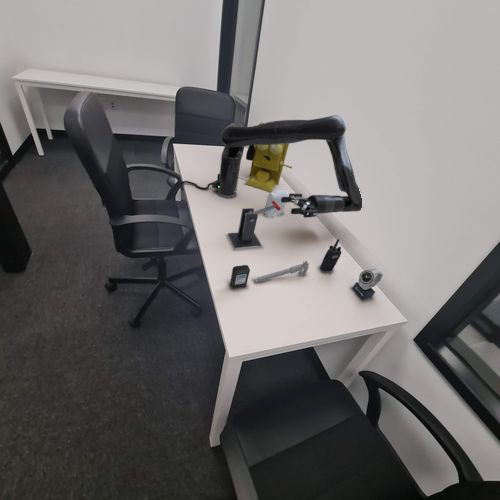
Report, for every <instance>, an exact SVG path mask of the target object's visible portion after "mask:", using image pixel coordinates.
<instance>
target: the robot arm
mask: <svg viewBox="0 0 500 500" xmlns="http://www.w3.org/2000/svg"><path fill="white" fill-rule="evenodd" d="M263 123H264V124H260V123H259V124H260V125H259V124H257V125H253V126H244V125H242V124H241V123H239V122H231V123H230V124H229V125H227V126H225V128H224V129H223V130H222V132H221V134H220V135H221V136H220V138H221V142H222V144H224V147H223V150H222V152H221V157H220V167H219V173H218V174H217V177H216V180H214V181H212V182H209V183H208V184H207V186H206V187H204V186H203V187H202V186H199V185H198V184H197V183H195V182H193V181H189V180H183V181H180V183H179V185H182V184H183V185H184V184H190V185H193V186H195V187H196V188H197V189H200V190H205V191H206V190H209V188H210V186H211V188H212V189H215V193H217V195H218V196H220V197H223V198H227V199H228V198H234V197H236V195H237V191H238V189H237V188H238V181H239V177H240V176H239V175H240V168H241V163H242V158H243V155H244V150H245V147H249V145H278V144H289V145H290V144H295V143H299V142H304V141H310V140H311V141H313V140H314V141H316V140H318V141H319V140H320V141H325V142H326V144H327V147H328V149H329V151H330V155H331V159H332V163H333V169H334V174H335V178H336V182H337V187H338V189H339V191H340V192H343V193H346V195H338V194H336V195H335V194H334V195H331V194H311V195H309V196H308V197H303V194H302V193H288V197H282V199H281V202H282V203H286V204H287V203H290V204H293V205H294V206H297V207H293V208H291V209H290V214H291V215H299V216H302V217H303V218H305V219H307V218H315V217H317V215H319V214H329V213H349V212H351V213H352V212H360V211H362V210H361V208H362V198H361V194H360V191H361V190H360V191H359V189H360V187H359V185H358V183H357V181H356V176H355V172H354V169H353V165H352V162H351V159H350V157H349V154H348V151H347V146H346V137H345V133H346V130H347V122H346V120H345V119H344V118H343V117H342V116H341V115H337V114H335V115H334V114H333V115H329V116H324V117H320V118H314V119H280V120H272V121H268V122H263Z"/></svg>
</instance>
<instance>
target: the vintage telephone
mask: <svg viewBox="0 0 500 500" xmlns="http://www.w3.org/2000/svg"><path fill="white" fill-rule="evenodd" d="M264 123H265V122H260V123H258V125H260V124H264ZM289 145H290V144H278V145H249V146H248V148H247V150H246V155H245V160H247V161H248V162H249V161H250V162H251V165H250V171H249V178H248V180H246V179H244V178H242V177H240V176H238V179H241V180H244V181H246V182H245V185H246V186H250V187H252V188H256V189H259V190H262V191H266V192H269V193H271V192H273V190H274V188H275V186H276V185H279V184H280V180H281V175H282V173H283V168H284V167H286V168H288V169H292V168H293V165H289V164H286V163H285V160H286V157H287V153H288V149H289Z"/></svg>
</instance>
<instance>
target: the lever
mask: <svg viewBox="0 0 500 500" xmlns="http://www.w3.org/2000/svg"><path fill="white" fill-rule="evenodd" d="M272 204H273V205H271V206H269V207H266V208H265V207H264V208H262V209H261V208H260V209H259V210H256V211H254V212H253V213H252V211H249V212H247V213H244V214H245V217H246V214H257V215H258V216H259V215H261V214H263V213H264V212H266V211H269V210H271V209H274V208H276V209H277V210H278V211H279V210H280V209H281V208H280V207H279V206H278V204H277V203H276V202H275V201H272ZM264 214H265V213H264Z"/></svg>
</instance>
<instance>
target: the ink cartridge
mask: <svg viewBox="0 0 500 500" xmlns="http://www.w3.org/2000/svg"><path fill="white" fill-rule="evenodd" d="M231 269H232V270H231V275H230V276H231V277H230V282H229V284H230V287H231V289H232V290H235V289H240V288H241V289H242V288H246V287H247V283H248V280H249V276H250V271H251V269H250V267H249V265H248V264H242V265H235V266H233V267H232V268H231Z"/></svg>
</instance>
